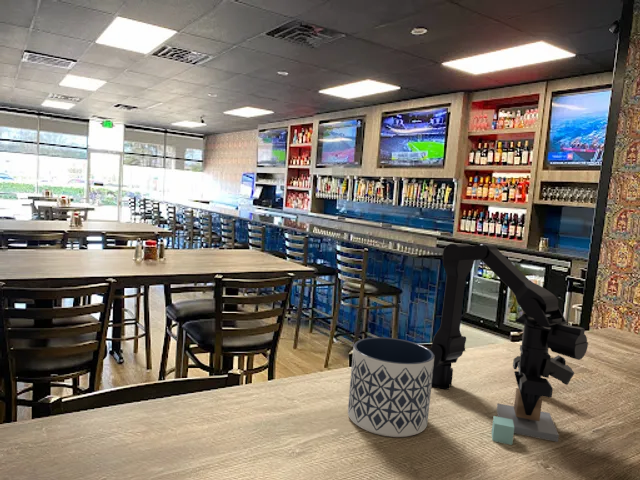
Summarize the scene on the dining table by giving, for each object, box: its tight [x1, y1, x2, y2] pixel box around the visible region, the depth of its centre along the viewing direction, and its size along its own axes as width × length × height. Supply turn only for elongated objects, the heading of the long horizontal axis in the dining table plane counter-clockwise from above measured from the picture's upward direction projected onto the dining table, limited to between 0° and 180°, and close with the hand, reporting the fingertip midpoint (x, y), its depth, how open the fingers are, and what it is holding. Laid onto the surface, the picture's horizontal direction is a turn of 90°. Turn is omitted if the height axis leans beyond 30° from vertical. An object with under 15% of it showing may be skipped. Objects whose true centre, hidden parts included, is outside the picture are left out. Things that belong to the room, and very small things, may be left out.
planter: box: [347, 336, 434, 438], centre depth 110 cm, size 18×18×16 cm
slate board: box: [496, 402, 560, 443], centre depth 113 cm, size 12×12×2 cm
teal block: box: [491, 415, 515, 446], centre depth 105 cm, size 4×4×4 cm
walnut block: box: [513, 387, 543, 421], centre depth 113 cm, size 5×5×5 cm
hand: (526, 410), depth 113 cm, fingers closed on walnut block, 5 cm apart
